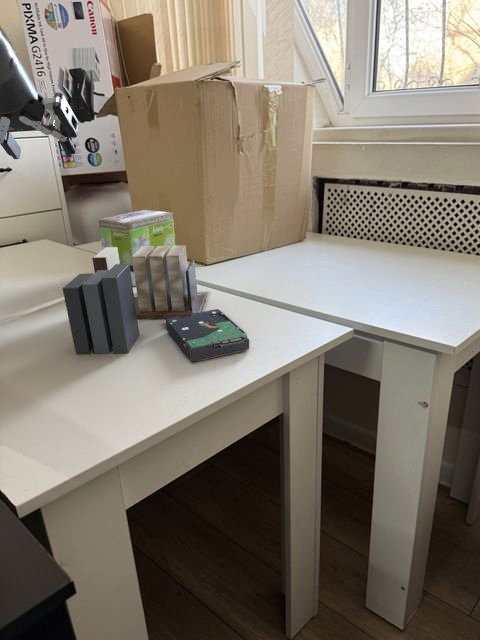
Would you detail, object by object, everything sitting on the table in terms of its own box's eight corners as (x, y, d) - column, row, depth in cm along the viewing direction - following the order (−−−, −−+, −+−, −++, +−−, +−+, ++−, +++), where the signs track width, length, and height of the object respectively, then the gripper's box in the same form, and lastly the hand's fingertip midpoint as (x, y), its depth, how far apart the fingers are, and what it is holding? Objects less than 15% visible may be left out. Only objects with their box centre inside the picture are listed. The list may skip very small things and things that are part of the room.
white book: (114, 313, 99) (105, 257, 94) (101, 313, 99) (92, 257, 94) (125, 299, 106) (117, 246, 101) (113, 299, 106) (105, 247, 101)
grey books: (128, 353, 84) (116, 277, 79) (75, 354, 84) (60, 278, 79) (139, 334, 91) (129, 263, 86) (91, 335, 92) (78, 264, 86)
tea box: (136, 287, 116) (127, 222, 110) (106, 281, 121) (95, 218, 115) (179, 270, 128) (173, 210, 121) (150, 265, 133) (142, 208, 126)
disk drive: (165, 332, 92) (191, 363, 80) (163, 318, 91) (189, 347, 79) (219, 322, 96) (251, 350, 84) (217, 307, 95) (250, 334, 82)
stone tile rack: (85, 320, 98) (74, 260, 93) (102, 301, 108) (93, 245, 103) (198, 318, 97) (193, 257, 92) (205, 299, 107) (201, 243, 102)
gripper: (48, 40, 65) (92, 133, 80) (-61, 43, 65) (4, 136, 81) (40, 84, 62) (87, 172, 78) (-73, 88, 63) (-5, 175, 78)
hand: (44, 153), depth 79 cm, fingers open, 8 cm apart
